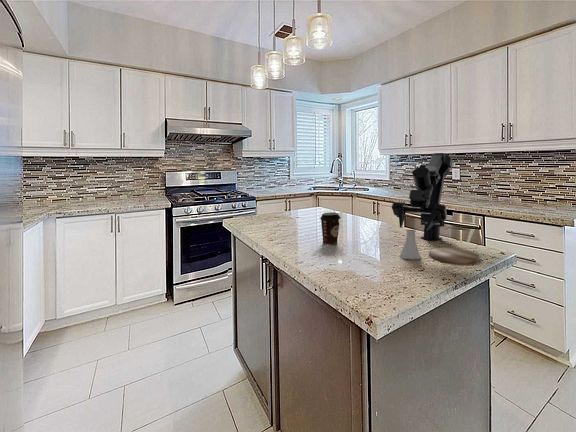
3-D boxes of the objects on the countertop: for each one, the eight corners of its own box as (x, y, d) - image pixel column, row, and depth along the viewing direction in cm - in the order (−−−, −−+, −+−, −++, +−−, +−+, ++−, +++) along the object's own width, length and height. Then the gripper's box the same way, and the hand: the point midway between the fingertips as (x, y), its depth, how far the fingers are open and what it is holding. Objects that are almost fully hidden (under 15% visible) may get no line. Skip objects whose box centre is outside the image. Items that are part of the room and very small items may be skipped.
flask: (422, 260, 109) (424, 232, 108) (400, 259, 111) (401, 232, 109) (418, 254, 116) (419, 228, 115) (397, 254, 118) (398, 228, 116)
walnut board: (447, 248, 123) (447, 245, 123) (489, 259, 109) (489, 255, 109) (419, 255, 116) (419, 251, 116) (460, 267, 102) (460, 263, 102)
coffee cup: (342, 241, 138) (342, 212, 136) (338, 246, 131) (339, 215, 128) (322, 240, 141) (322, 211, 139) (318, 244, 133) (318, 214, 131)
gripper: (394, 181, 121) (383, 213, 114) (447, 182, 110) (438, 217, 103) (399, 199, 129) (389, 230, 122) (450, 202, 118) (442, 236, 111)
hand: (413, 228), depth 114 cm, fingers open, 9 cm apart
